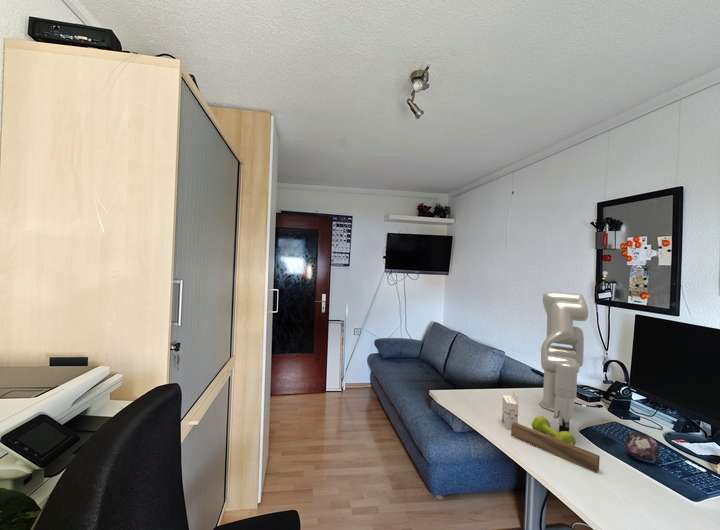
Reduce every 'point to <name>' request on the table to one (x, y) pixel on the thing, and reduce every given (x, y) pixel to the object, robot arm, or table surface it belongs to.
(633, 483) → the table surface
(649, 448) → the mineral specimen
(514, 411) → the ink cartridge box
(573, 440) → the dumbbell
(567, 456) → the walnut board
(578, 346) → the robot arm
